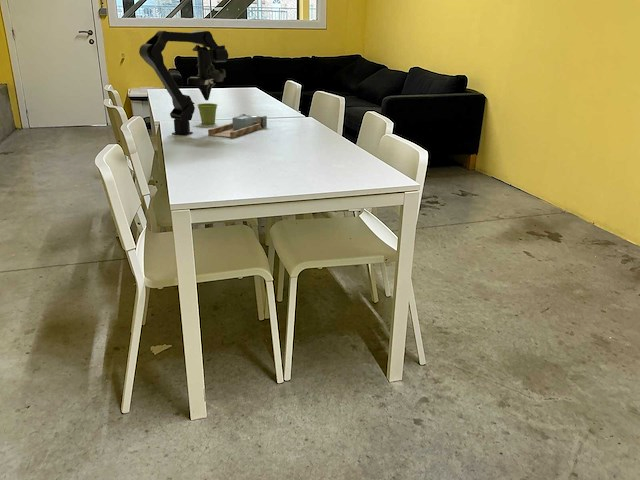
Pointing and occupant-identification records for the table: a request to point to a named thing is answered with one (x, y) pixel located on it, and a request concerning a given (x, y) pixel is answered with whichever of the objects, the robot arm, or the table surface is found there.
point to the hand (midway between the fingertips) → (206, 100)
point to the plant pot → (207, 112)
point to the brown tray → (232, 130)
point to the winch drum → (259, 120)
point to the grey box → (242, 121)
